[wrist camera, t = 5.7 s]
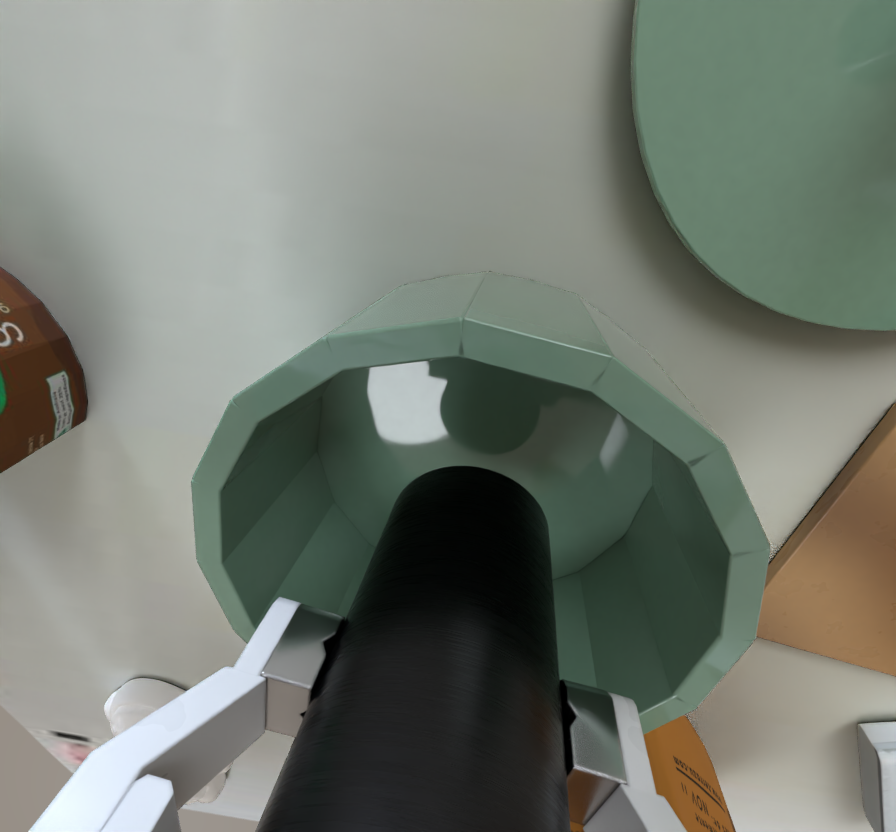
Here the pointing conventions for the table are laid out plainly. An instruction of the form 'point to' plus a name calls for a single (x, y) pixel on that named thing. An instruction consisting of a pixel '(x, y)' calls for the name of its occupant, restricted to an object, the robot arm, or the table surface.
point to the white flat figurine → (142, 701)
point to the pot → (501, 450)
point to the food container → (34, 375)
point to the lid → (776, 147)
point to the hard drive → (878, 773)
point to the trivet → (842, 565)
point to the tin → (439, 677)
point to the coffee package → (685, 778)
